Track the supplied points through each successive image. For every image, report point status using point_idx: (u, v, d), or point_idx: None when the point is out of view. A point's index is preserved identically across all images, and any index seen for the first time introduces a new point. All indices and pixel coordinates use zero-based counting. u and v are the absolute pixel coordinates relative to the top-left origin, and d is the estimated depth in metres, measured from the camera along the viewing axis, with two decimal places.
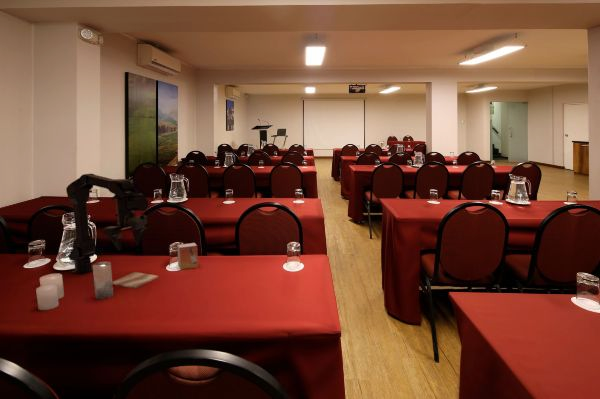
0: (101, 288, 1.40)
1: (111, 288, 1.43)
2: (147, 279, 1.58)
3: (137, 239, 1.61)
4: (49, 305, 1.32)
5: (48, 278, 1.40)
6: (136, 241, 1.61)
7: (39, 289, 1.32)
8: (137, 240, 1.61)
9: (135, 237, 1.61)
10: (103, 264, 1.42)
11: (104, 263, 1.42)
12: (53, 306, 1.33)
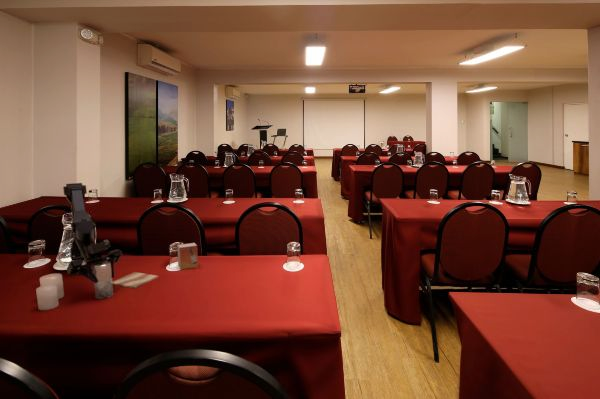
0: (101, 288, 1.40)
1: (111, 288, 1.43)
2: (147, 279, 1.58)
3: None
4: (49, 305, 1.32)
5: (48, 278, 1.40)
6: None
7: (39, 289, 1.32)
8: None
9: None
10: (103, 263, 1.42)
11: (104, 263, 1.42)
12: (53, 306, 1.33)
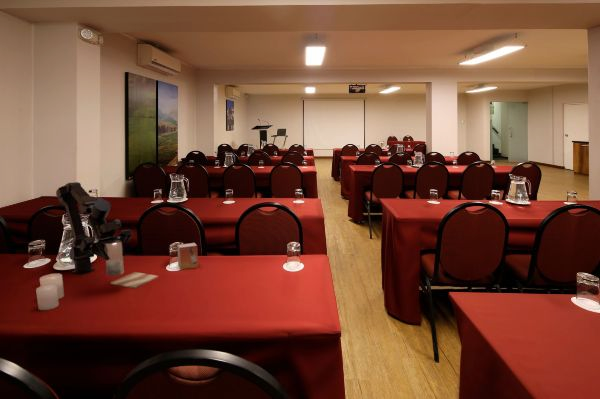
0: (112, 265, 1.45)
1: (122, 266, 1.48)
2: (147, 279, 1.58)
3: None
4: (49, 305, 1.32)
5: (48, 278, 1.40)
6: None
7: (39, 289, 1.32)
8: (122, 251, 1.50)
9: None
10: (114, 242, 1.47)
11: (115, 241, 1.47)
12: (53, 306, 1.33)
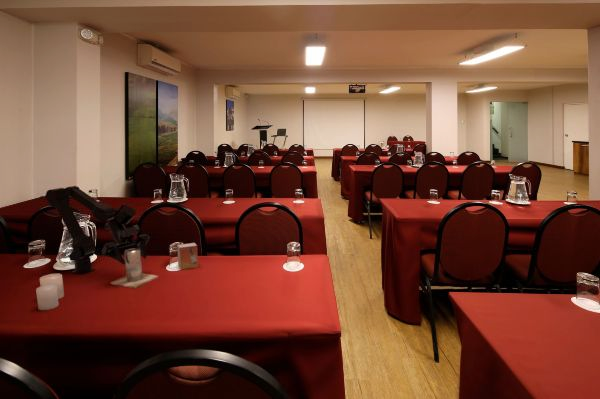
0: (132, 272, 1.55)
1: (141, 272, 1.58)
2: (147, 279, 1.58)
3: (143, 253, 1.61)
4: (49, 305, 1.32)
5: (48, 278, 1.40)
6: (143, 255, 1.61)
7: (39, 289, 1.32)
8: (143, 254, 1.60)
9: (141, 253, 1.61)
10: (133, 250, 1.57)
11: (134, 249, 1.57)
12: (53, 306, 1.33)
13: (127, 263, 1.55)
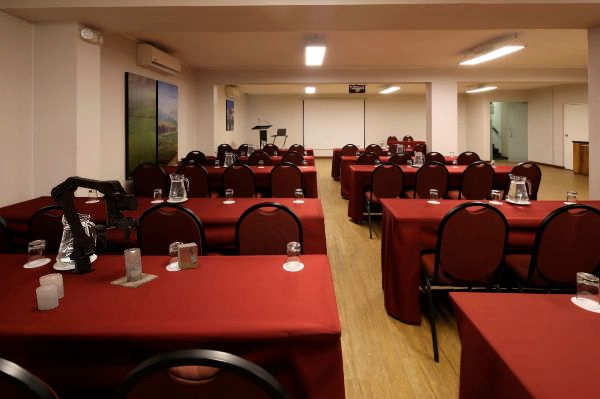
0: (132, 272, 1.55)
1: (141, 272, 1.58)
2: (147, 279, 1.58)
3: (126, 238, 1.67)
4: (49, 305, 1.32)
5: (48, 278, 1.40)
6: (126, 239, 1.67)
7: (39, 289, 1.32)
8: (127, 239, 1.67)
9: (125, 236, 1.67)
10: (133, 250, 1.57)
11: (134, 249, 1.57)
12: (53, 306, 1.33)
13: (127, 263, 1.55)
